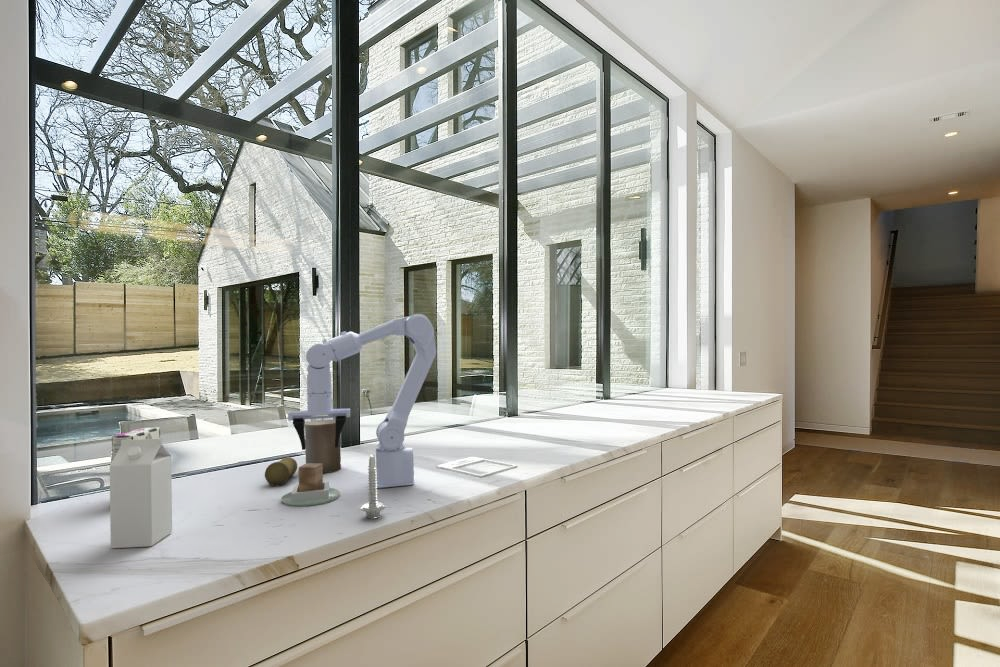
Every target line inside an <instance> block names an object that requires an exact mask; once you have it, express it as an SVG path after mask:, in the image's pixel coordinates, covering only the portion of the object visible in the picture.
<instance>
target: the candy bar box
mask: <svg viewBox="0 0 1000 667" xmlns="http://www.w3.org/2000/svg"><path fill="white" fill-rule="evenodd" d="M130 439H161V427H158V426H157V427H155V426H154V427H153V426H152V427H139V428H137V429H133V430H129V431H127V432H126V431H125V432H123V433H120V434H117V435H113V436H111V450H112V451H111V454H112V458H111V459H112V461H113V459H114V457H115V455H116V454H117V452H118V450H119V449H120V447H121V440H130ZM112 461H111V462H112Z"/></svg>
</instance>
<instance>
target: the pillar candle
mask: <svg viewBox="0 0 1000 667" xmlns="http://www.w3.org/2000/svg"><path fill="white" fill-rule="evenodd" d="M335 436H336V419H324V418H321V419H317V420H313V421H312V420H311V421H308V422H305V444H306V448H305V450H304V451H305V453H304V454H305V464H306V463H323V474H325V473H333V472H337V471H339V470H341V469H342V464H341V462H342V461H341V459H342V457H341V456H342V455H341V436H340V437H339V442H338V447H335Z"/></svg>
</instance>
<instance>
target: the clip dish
mask: <svg viewBox="0 0 1000 667" xmlns="http://www.w3.org/2000/svg"><path fill="white" fill-rule="evenodd" d="M340 496H341V491H340V490H339V489H337V488H333V487H330V481H323V490H314V491H304V492H299V483H298V484H294V485H293V487H292V491H290V492H288V493H285V494H283V496H282V497H281V499H280V500H281V501H280V502H281V504H283V505H285V506H289V507H310V506H311V507H312V506H317V505H324V504H326V503H327V504H328V503H331V502H333V501H336V500H337V499H339V498H340Z"/></svg>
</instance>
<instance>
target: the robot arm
mask: <svg viewBox="0 0 1000 667" xmlns="http://www.w3.org/2000/svg"><path fill="white" fill-rule="evenodd" d="M392 335H393V336H394V335H395V336H405V337H406V338H407V339H408V340H409V341H410V343H411V344H412V347H413V349H414V351H415V355H414V358H413V360H412V362H411V365H410V367H409V369H408V371H407V372H406V376H405V377H404V379H403V383H402V384H401V386H400V389H399V391H398V393H397V396H396V398H395V400H394V402H393V404H392V406H391V408H390V410H389V411H388V413H387V414H386V416H385V419H383V421H381V422H380V423H379V424H378V425H377V427H376V430H375V431H376V432H375V433H376V437H377V439H378V445H377V446H375V466H376V467H377V468H376V470H377V471H376V472H377V474H376V475H377V477H376V478H377V480H376V481H377V482H376V484H377V485H376V486H377V488H376V489H382V488H391V487H401V486H412V485H415V479H414V477H415V476H414V475H415V468H414V465H415V463H414V452H413V447H412V446H411V447H410V446H409V447H406V446H405V444H404V441H405V430H406V428H407V425H408V419H409V416H410V413H411V411H412V409H413V407H414V404H415V403H416V400H417V398H418V395H419V393H420V392H421V390H422V386H423V384H424V382H425V380H426V378H427V376H428V373H429V371H430V369H431V367H432V364H433V362H434V360H435V358H436V355H437V347H436V341H435V340H436V339H435V329H434V327H433V325H432V322H431V320H430V319H429V318H428V317H427V315H424V314H421V313H415V314H413V315H409V316H404V317H399V318H394V319H392V320H389V321H387V322H385V323H384V322H383V323H381V324H380V325H377V326H374V327H372V328H371V329H367V330H365V331H362V332H360V333H356V332H354V331H348V332H347V331H342V332H340V335H337V336H335V337H332V338H330V339H328V340H327V339H323V340H321V342H322V343H323V344H322V343H316V344H314V345H311V346H310V347H309V348H308V349H307V351H306V356H305V358H306V362H307V368H306V369H307V370H306V371H307V375H306V393H307V396H306V397H307V400H306V402H307V405H306V406H307V410H305V409H304V410H295V411H288V413H287V420H288V422H289V421H292V425H293V427H294V429H295V431H296V433H297V436H298V438H299V441H300V445H301V446H300V447H301V451H305V448H306V444H305V423H306V422H305V421H306V420H320V419H322V418H323V419H331V418H335V420H336V436H335V447H338V442H339V437H340V438H341V434H342V431H343V428H344V426H345V424H346V421H347V418H351V408H333V407H332V406H333V404H332V403H333V401H332V400H333V398H332V395H333V394H332V391H333V389H332V373H331V364H330V363H331V362H332V361H333V362H339V361H342V360H344V359H346V358H348V357H351V356H354V355H356V354H359V353H360V352H361V350H362V348H363V346H364V345H366V344H370V343H372V342H375V341H378V340H381V339H384V338H387V337H390V336H392Z"/></svg>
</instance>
